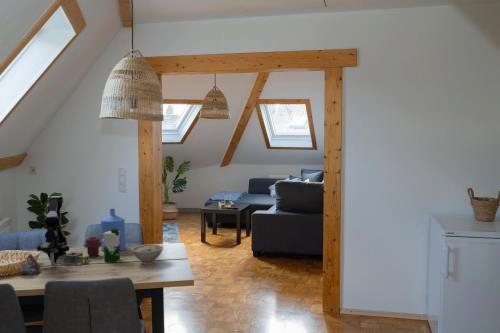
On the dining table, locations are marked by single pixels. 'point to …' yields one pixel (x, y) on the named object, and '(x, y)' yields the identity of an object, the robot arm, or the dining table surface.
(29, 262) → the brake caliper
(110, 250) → the milk carton
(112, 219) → the water jug
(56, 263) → the gray square beam
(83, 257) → the square socket plate
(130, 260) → the dining table surface
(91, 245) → the mechanical component
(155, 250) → the bowl
